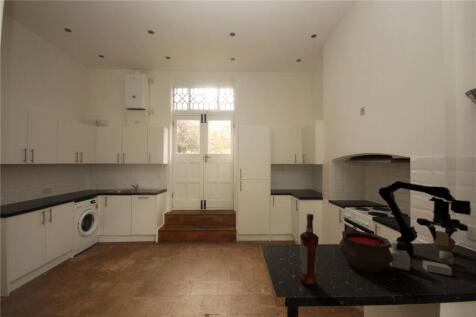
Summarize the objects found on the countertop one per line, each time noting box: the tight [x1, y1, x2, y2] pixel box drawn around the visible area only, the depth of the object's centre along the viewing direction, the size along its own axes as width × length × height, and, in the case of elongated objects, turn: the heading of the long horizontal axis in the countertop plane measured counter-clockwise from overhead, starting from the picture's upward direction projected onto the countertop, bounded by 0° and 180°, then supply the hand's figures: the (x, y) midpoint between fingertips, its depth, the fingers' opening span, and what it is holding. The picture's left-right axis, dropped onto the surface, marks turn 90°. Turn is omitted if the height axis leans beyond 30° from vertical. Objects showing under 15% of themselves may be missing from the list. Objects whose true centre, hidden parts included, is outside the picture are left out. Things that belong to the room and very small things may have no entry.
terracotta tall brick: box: [432, 230, 449, 246], centre depth 109 cm, size 4×4×6 cm
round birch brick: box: [438, 250, 454, 266], centre depth 110 cm, size 5×5×5 cm
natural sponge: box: [433, 236, 456, 253], centre depth 125 cm, size 9×9×10 cm
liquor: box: [298, 213, 320, 286], centre depth 87 cm, size 7×7×28 cm
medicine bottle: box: [389, 239, 411, 271], centre depth 104 cm, size 7×7×12 cm
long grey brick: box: [422, 260, 453, 276], centre depth 100 cm, size 9×4×4 cm, turn 68°
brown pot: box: [339, 225, 394, 273], centre depth 103 cm, size 24×24×16 cm
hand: (440, 240), depth 109 cm, fingers closed on terracotta tall brick, 4 cm apart
